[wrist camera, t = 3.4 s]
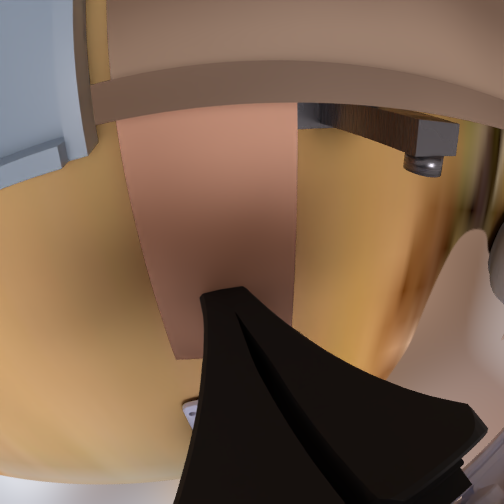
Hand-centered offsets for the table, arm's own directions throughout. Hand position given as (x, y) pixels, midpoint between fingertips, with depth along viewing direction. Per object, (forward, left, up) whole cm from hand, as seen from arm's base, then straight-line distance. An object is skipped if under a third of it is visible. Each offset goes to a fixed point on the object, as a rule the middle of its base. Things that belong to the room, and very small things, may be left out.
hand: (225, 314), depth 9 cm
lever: (+5, -8, +1) cm, 10 cm away
